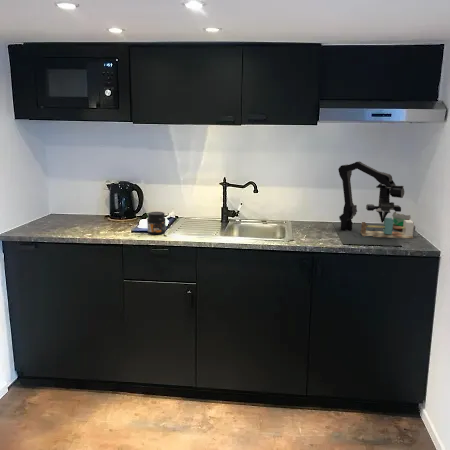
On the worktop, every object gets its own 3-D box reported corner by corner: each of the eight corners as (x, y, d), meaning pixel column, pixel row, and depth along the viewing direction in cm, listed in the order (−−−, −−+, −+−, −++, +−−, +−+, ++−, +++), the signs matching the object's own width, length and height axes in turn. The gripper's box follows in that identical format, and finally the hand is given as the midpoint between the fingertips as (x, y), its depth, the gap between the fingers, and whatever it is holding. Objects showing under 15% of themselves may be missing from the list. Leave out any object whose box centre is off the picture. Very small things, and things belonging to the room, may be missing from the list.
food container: (386, 228, 295) (388, 212, 293) (393, 227, 298) (395, 211, 296) (401, 232, 285) (403, 216, 282) (409, 231, 288) (410, 215, 285)
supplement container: (145, 235, 272) (145, 214, 269) (149, 230, 282) (149, 211, 279) (163, 235, 271) (163, 215, 268) (167, 231, 281) (167, 211, 278)
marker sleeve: (384, 234, 274) (386, 219, 272) (382, 231, 280) (384, 217, 278) (391, 234, 274) (393, 220, 272) (389, 231, 280) (391, 217, 278)
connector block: (405, 235, 272) (406, 222, 271) (402, 233, 279) (403, 219, 277) (415, 236, 272) (416, 222, 270) (412, 233, 278) (413, 220, 277)
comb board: (362, 236, 274) (363, 224, 273) (360, 232, 284) (361, 220, 282) (412, 238, 271) (414, 226, 269) (408, 234, 280) (409, 222, 279)
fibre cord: (364, 227, 277) (364, 225, 277) (364, 227, 279) (364, 224, 278) (405, 229, 274) (405, 226, 274) (405, 228, 276) (405, 226, 275)
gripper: (369, 197, 266) (367, 224, 269) (404, 198, 263) (401, 226, 267) (366, 194, 277) (364, 220, 280) (400, 195, 274) (397, 221, 278)
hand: (382, 222), depth 276 cm, fingers closed
